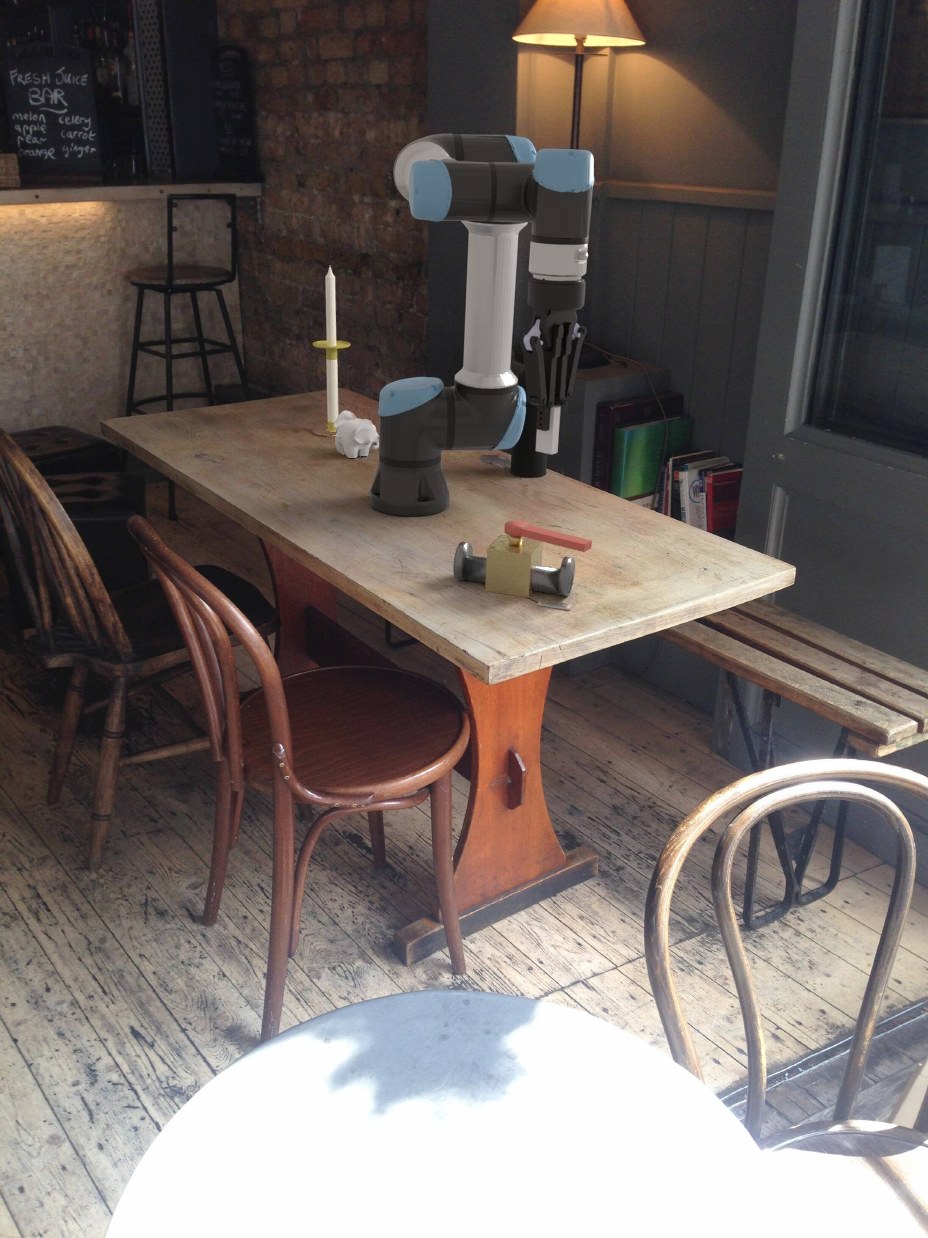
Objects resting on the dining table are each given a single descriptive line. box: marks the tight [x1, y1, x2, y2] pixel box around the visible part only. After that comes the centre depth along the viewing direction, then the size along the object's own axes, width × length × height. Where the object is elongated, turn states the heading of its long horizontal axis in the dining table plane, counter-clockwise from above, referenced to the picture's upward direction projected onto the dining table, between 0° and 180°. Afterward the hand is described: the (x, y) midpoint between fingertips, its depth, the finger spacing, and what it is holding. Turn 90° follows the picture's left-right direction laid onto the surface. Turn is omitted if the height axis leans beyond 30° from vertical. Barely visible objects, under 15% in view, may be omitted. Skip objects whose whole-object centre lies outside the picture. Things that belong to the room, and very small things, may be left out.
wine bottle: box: [510, 325, 548, 479], centre depth 224 cm, size 8×8×30 cm
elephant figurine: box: [333, 410, 379, 459], centre depth 237 cm, size 10×12×9 cm
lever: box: [503, 520, 593, 553], centre depth 165 cm, size 14×4×1 cm, turn 56°
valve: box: [452, 534, 576, 611], centre depth 169 cm, size 20×9×9 cm, turn 71°
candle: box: [312, 266, 351, 432], centre depth 248 cm, size 10×10×38 cm
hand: (546, 451), depth 153 cm, fingers closed
